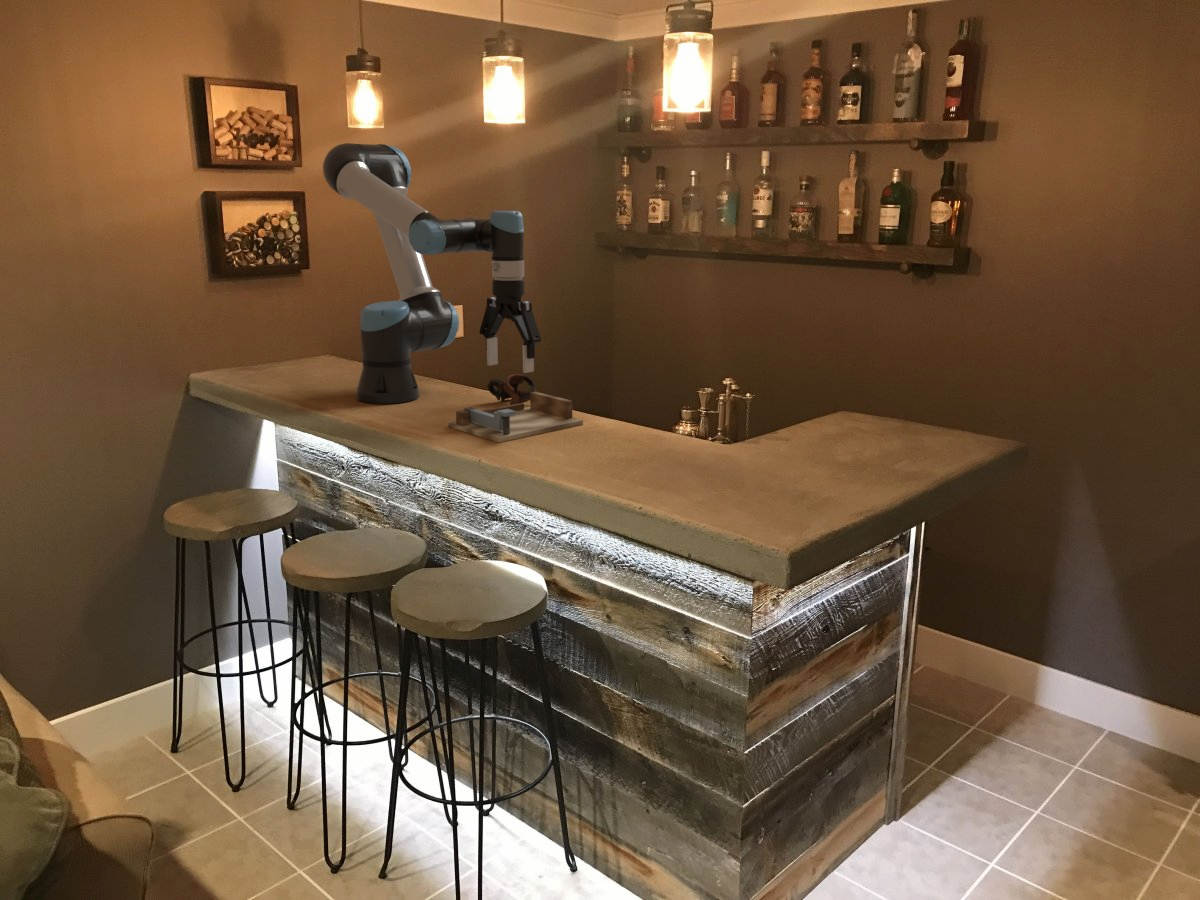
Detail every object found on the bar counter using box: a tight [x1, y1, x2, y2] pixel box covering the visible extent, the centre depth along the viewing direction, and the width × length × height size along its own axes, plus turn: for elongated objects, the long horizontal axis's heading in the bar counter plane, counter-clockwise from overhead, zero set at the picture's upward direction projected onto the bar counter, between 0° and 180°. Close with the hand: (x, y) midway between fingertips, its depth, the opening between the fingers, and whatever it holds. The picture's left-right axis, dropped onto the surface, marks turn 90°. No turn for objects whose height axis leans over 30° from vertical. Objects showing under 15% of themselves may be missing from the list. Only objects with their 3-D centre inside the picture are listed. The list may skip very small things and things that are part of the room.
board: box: [447, 391, 584, 443], centre depth 216 cm, size 18×24×5 cm
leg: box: [463, 406, 516, 431], centre depth 209 cm, size 16×3×4 cm, turn 41°
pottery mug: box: [487, 373, 537, 405], centre depth 237 cm, size 12×10×8 cm
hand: (510, 368), depth 232 cm, fingers open, 13 cm apart
